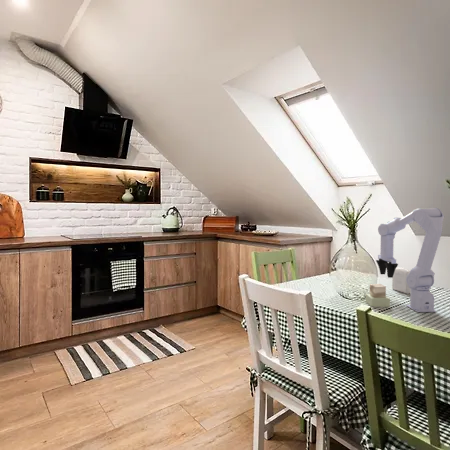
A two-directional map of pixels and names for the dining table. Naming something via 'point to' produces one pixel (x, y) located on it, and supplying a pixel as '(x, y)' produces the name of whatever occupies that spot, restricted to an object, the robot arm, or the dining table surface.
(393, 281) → the photo printer
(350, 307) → the dining table surface
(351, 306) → the dining table surface
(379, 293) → the cream cube
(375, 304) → the sage base block
